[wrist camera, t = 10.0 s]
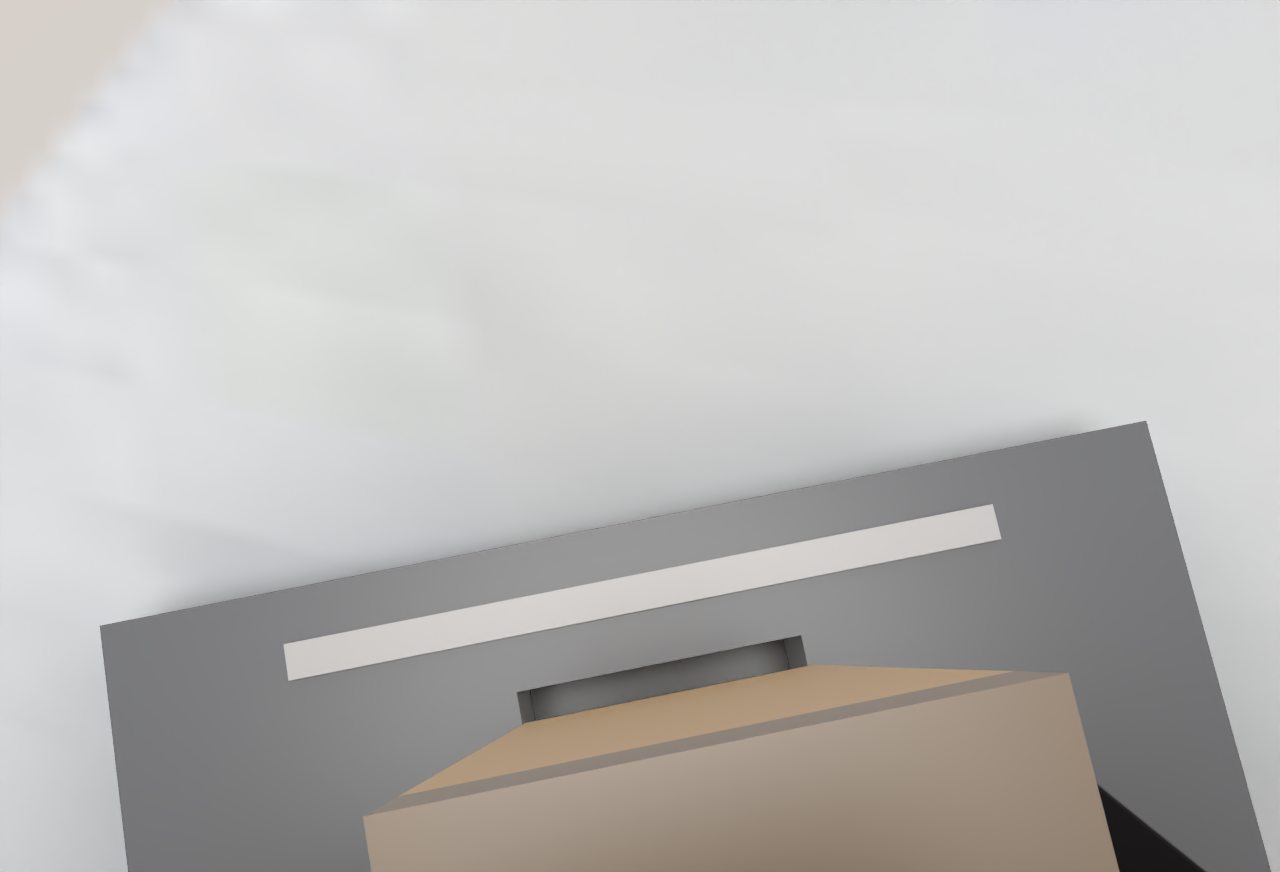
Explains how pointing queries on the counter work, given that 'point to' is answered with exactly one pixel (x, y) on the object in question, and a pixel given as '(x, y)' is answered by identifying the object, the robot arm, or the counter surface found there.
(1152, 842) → the robot arm
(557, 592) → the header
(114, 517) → the counter surface
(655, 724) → the plug
